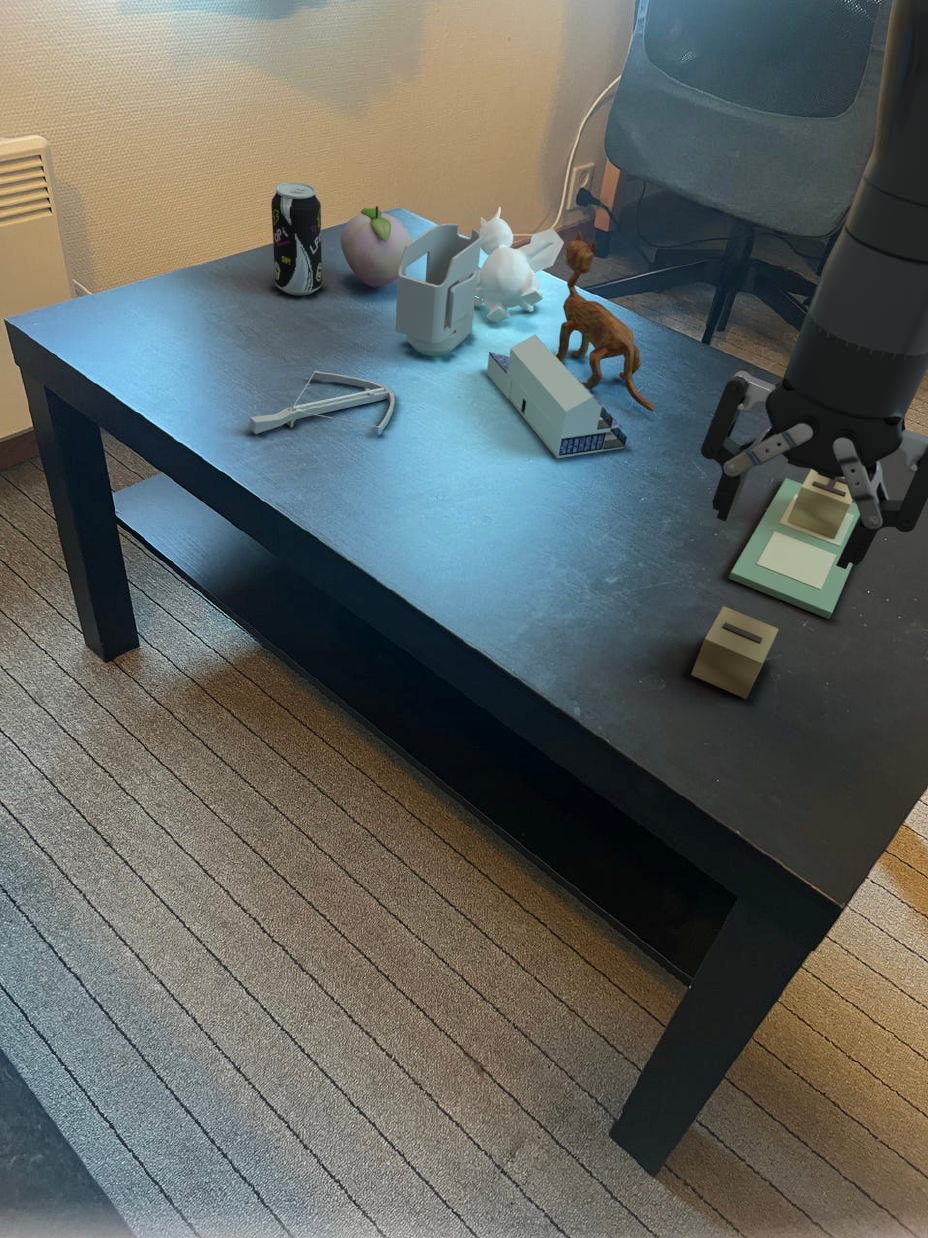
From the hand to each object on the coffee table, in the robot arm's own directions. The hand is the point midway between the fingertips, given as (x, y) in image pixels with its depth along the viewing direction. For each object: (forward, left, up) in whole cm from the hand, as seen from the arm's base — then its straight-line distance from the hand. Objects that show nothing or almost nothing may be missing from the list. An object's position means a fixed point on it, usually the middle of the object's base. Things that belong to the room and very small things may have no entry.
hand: (783, 538), depth 65 cm
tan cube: (0, 0, -13) cm, 13 cm away
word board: (-1, -20, -13) cm, 23 cm away
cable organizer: (+46, -31, -13) cm, 57 cm away
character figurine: (+45, -45, -13) cm, 65 cm away
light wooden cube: (-1, -23, -12) cm, 26 cm away
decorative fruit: (+60, -40, -13) cm, 73 cm away
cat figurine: (+27, -36, -13) cm, 47 cm away
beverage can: (+67, -33, -13) cm, 76 cm away
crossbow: (+47, -11, -13) cm, 50 cm away
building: (+29, -26, -13) cm, 41 cm away
